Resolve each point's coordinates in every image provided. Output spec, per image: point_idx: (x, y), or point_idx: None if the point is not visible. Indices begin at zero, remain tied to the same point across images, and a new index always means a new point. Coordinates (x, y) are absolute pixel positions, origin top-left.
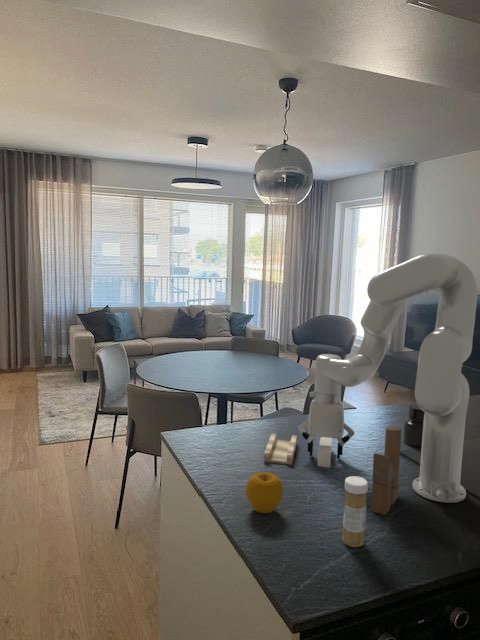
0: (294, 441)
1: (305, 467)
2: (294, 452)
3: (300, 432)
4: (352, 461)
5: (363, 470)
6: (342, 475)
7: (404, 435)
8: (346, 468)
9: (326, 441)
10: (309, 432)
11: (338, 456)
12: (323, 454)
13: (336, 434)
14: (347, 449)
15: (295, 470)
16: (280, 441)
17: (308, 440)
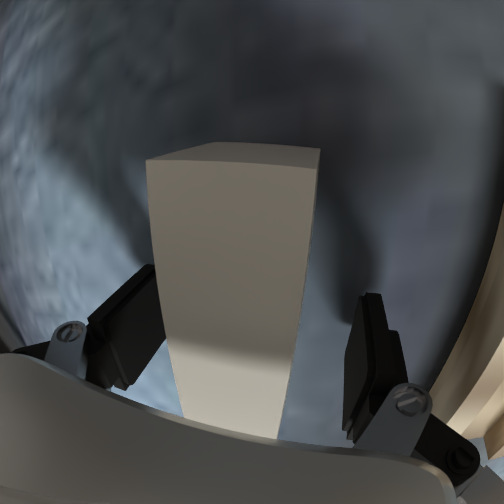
0: (451, 423)
1: (421, 106)
2: (457, 347)
3: (491, 472)
4: (100, 267)
5: (46, 160)
6: (133, 38)
7: None
8: (112, 156)
9: (223, 419)
10: (450, 494)
11: (147, 271)
12: (244, 156)
13: (11, 390)
14: (153, 391)
15: (484, 54)
16: (476, 429)
17: (414, 405)
